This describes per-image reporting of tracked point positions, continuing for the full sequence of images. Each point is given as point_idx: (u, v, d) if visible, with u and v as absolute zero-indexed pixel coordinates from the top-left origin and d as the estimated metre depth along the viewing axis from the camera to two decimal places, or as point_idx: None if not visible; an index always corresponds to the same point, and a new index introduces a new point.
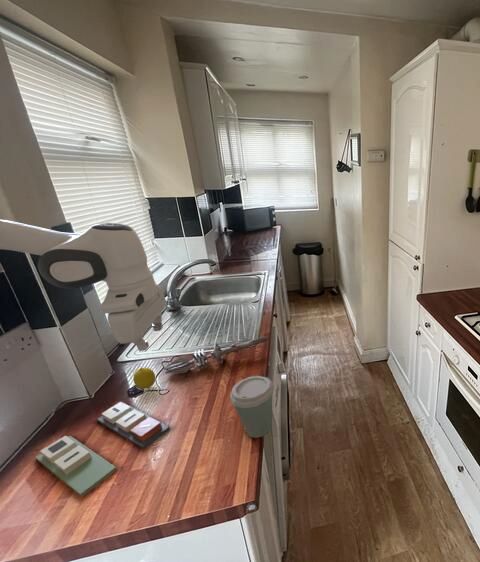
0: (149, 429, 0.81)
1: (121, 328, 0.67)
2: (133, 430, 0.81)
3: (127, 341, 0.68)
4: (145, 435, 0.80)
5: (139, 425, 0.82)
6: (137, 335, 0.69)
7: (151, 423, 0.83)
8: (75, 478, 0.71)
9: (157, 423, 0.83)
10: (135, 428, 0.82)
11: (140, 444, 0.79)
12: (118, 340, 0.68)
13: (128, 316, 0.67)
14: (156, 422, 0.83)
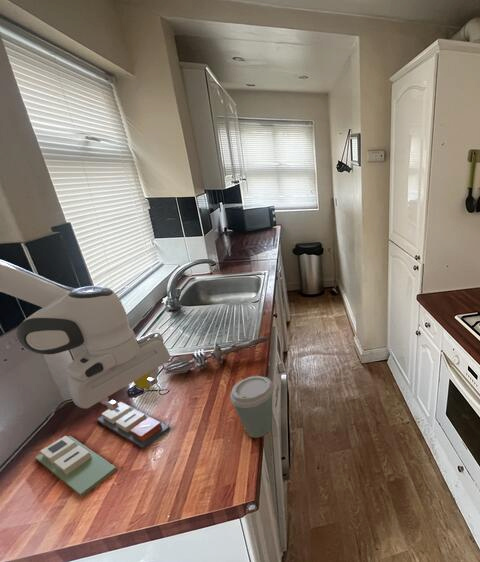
0: (149, 429, 0.81)
1: (73, 393, 0.67)
2: (133, 430, 0.81)
3: (78, 406, 0.68)
4: (145, 435, 0.80)
5: (139, 425, 0.82)
6: (87, 403, 0.68)
7: (151, 423, 0.83)
8: (75, 478, 0.71)
9: (157, 423, 0.83)
10: (135, 428, 0.82)
11: (140, 444, 0.79)
12: (74, 402, 0.69)
13: (76, 384, 0.66)
14: (156, 422, 0.83)
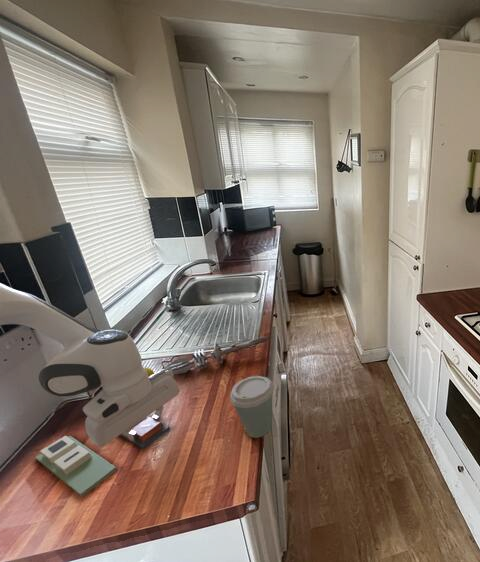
0: (149, 429, 0.81)
1: (90, 433, 0.71)
2: (133, 430, 0.81)
3: (95, 444, 0.72)
4: (145, 435, 0.80)
5: (139, 425, 0.83)
6: (103, 441, 0.72)
7: (151, 423, 0.83)
8: (75, 478, 0.71)
9: (157, 423, 0.83)
10: (135, 428, 0.82)
11: (140, 444, 0.79)
12: (90, 440, 0.72)
13: (94, 425, 0.70)
14: (156, 422, 0.83)
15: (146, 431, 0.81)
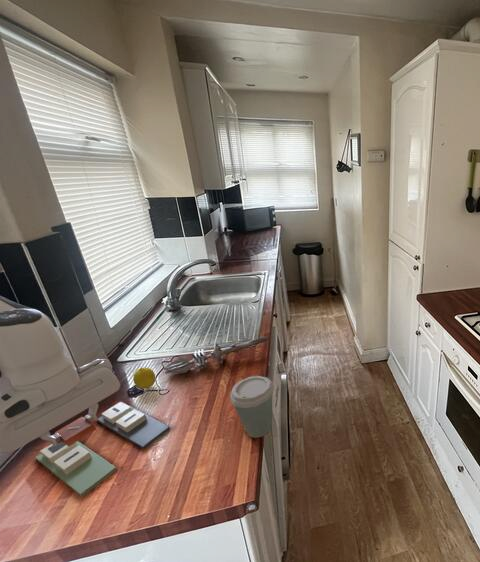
0: (78, 431, 0.67)
1: None
2: (58, 433, 0.67)
3: None
4: (72, 439, 0.66)
5: (67, 427, 0.68)
6: (9, 447, 0.58)
7: (82, 424, 0.69)
8: (75, 478, 0.71)
9: (89, 424, 0.69)
10: (61, 430, 0.68)
11: (140, 444, 0.79)
12: None
13: None
14: (89, 423, 0.69)
15: (73, 434, 0.67)
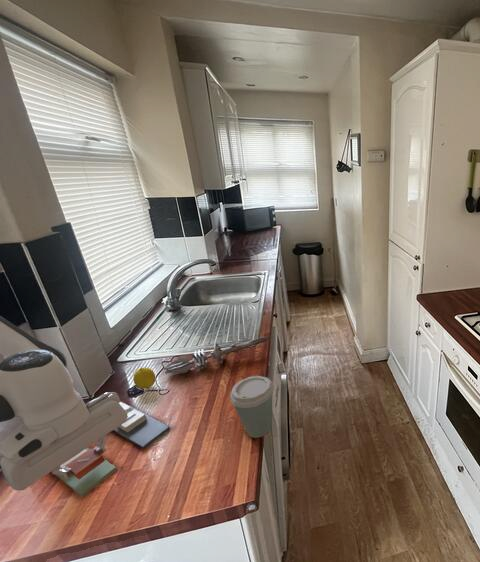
0: (87, 464, 0.70)
1: (6, 475, 0.59)
2: (68, 466, 0.69)
3: (13, 488, 0.60)
4: (82, 472, 0.68)
5: (77, 459, 0.71)
6: (23, 484, 0.60)
7: (91, 456, 0.71)
8: (75, 478, 0.71)
9: (98, 456, 0.71)
10: (71, 462, 0.70)
11: (140, 444, 0.79)
12: None
13: (9, 466, 0.58)
14: (97, 455, 0.72)
15: (83, 467, 0.69)
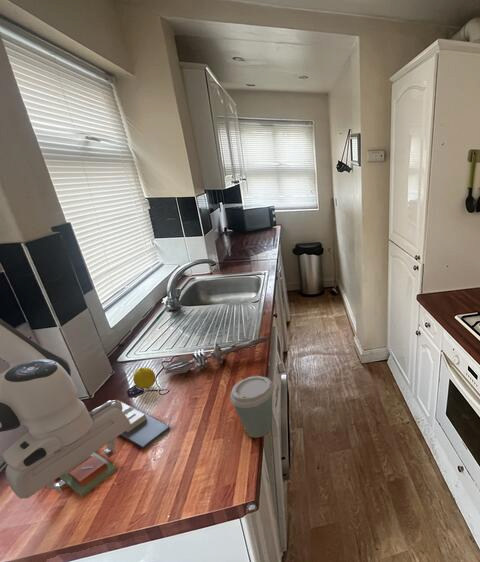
0: (91, 472, 0.70)
1: (11, 483, 0.60)
2: (72, 473, 0.70)
3: (18, 496, 0.61)
4: (86, 479, 0.69)
5: (81, 466, 0.72)
6: (27, 492, 0.61)
7: (95, 464, 0.72)
8: None
9: (102, 464, 0.72)
10: (75, 470, 0.71)
11: (140, 444, 0.79)
12: (13, 491, 0.62)
13: (14, 475, 0.59)
14: (101, 463, 0.72)
15: (87, 474, 0.70)
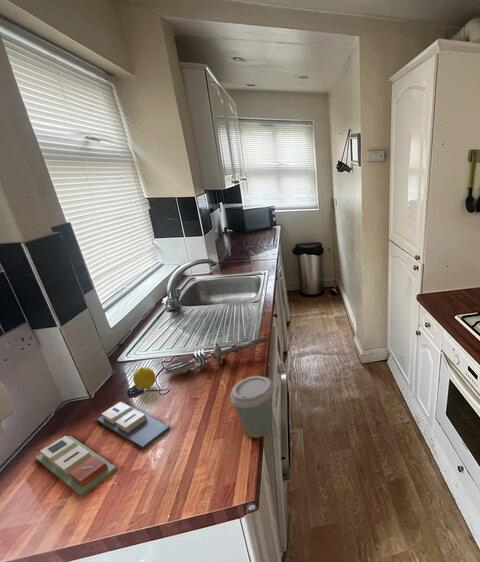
0: (91, 472, 0.70)
1: None
2: (72, 473, 0.70)
3: (5, 416, 0.55)
4: (86, 479, 0.69)
5: (81, 466, 0.72)
6: None
7: (95, 464, 0.72)
8: None
9: (102, 464, 0.72)
10: (75, 470, 0.71)
11: (140, 444, 0.79)
12: None
13: None
14: (101, 463, 0.72)
15: (87, 474, 0.70)
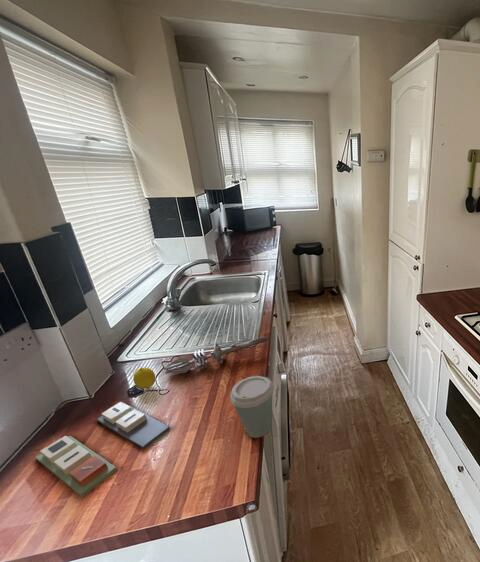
0: (91, 472, 0.70)
1: None
2: (72, 473, 0.70)
3: None
4: (86, 479, 0.69)
5: (81, 466, 0.72)
6: None
7: (95, 464, 0.72)
8: None
9: (102, 464, 0.72)
10: (75, 470, 0.71)
11: (140, 444, 0.79)
12: None
13: None
14: (101, 463, 0.72)
15: (87, 474, 0.70)
